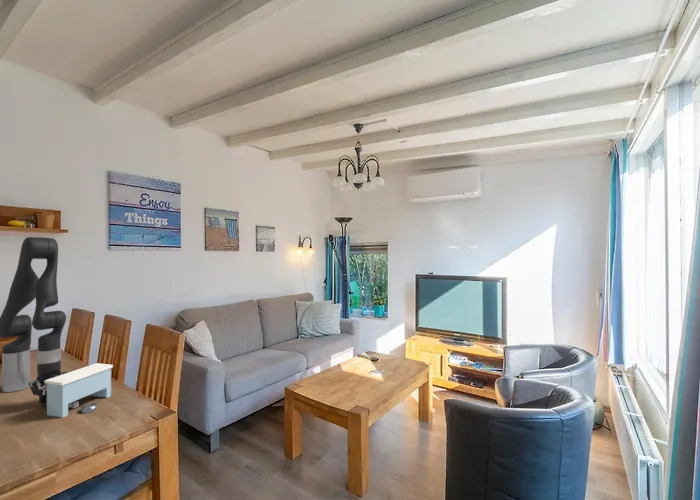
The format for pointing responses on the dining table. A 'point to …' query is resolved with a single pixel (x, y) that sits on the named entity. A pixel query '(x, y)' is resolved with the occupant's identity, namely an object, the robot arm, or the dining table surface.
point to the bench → (77, 387)
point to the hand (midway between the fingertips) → (49, 401)
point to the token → (89, 408)
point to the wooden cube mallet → (70, 405)
